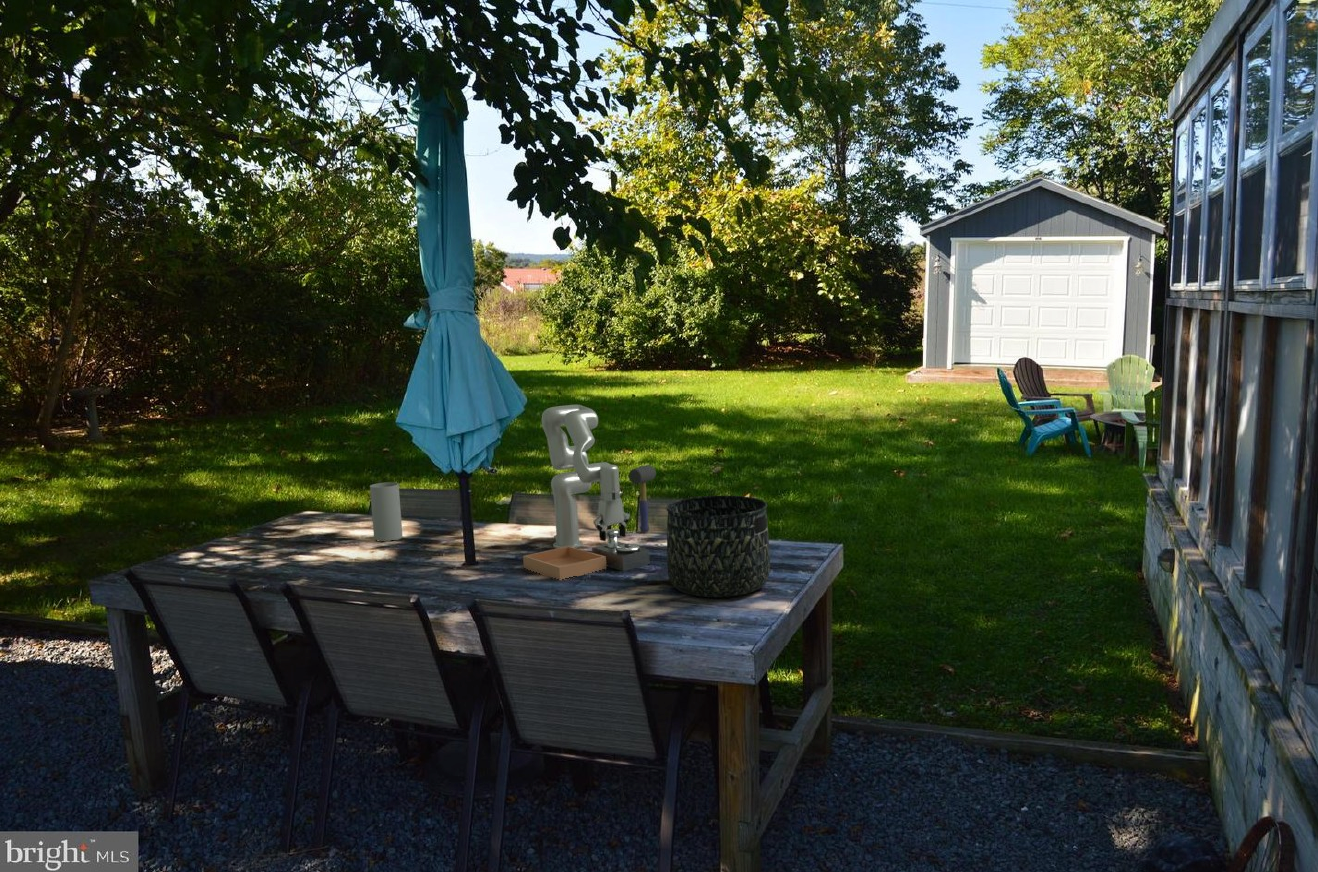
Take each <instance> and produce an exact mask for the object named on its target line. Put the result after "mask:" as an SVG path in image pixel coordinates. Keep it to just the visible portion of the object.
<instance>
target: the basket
mask: <svg viewBox="0 0 1318 872" xmlns="http://www.w3.org/2000/svg"><path fill="white" fill-rule="evenodd" d="M767 507H768V504H767V502H766V501H765V500H762V499H760V498H756V497H750V496H744V495H743V496H741V495H722V494H721V495H704V496H695V497H694V496H693V497H687V498H684V499H683V498H682V499H678V500H675V501H672V502H670V503H668V504H667V505H666V508H665V509H666V511H667V523H666V524H667V525H666V526H667V527H666V531H667V532H666V561H667V562H666V568H667V569H666V570H667V576H668V578H669V581H670V583H671V584H672V586H674V588H675V589H676V590H678V591H679V592H681V593H684V594H686V595H691V596H697V597H702V598H703V597H704V598H730V597H739V596H742V595H747V594H750V593H753V592H757V590H760V589H762V588H763V586H764V585H765V584H766V583H767V581H768V579H769V578H770V573H771V554H770V553H771V552H770V539H769V528H768V527H769V526H768V516H767Z"/></svg>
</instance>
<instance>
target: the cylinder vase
mask: <svg viewBox="0 0 1318 872" xmlns="http://www.w3.org/2000/svg"><path fill="white" fill-rule="evenodd" d="M369 488H370V489H369V491H370V492H369V493H370V504H371V516H372V530H373V540H374V541H375V540H379V541H390V540H396V541H399V540H401V539H402V538H403V527H402V512H401V510H402V509H401V501H400V499H401V498H400V487H399V483H398V482H394V481H393V482H387V481H386V482H379V483H374V484H371V485H369ZM390 542H391V541H390Z"/></svg>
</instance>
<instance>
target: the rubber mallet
mask: <svg viewBox="0 0 1318 872" xmlns="http://www.w3.org/2000/svg"><path fill="white" fill-rule="evenodd" d="M656 476H657V471H656V468H655V467H654V466H653V465H651V464H647V465H641V466H638V467H635V468H632V469H631V470H630V471H629V473H628V479H629V481H630V482H631V483H632V484H634V485H639V484H640V485H639V486H640V487H639V489H640V490H639V491H640V501H639V514H640V527H639V528H640V531H641V533H645V534H647V533H649V531H650V526H649V504H648V501H647V485H646V483H649V481H652V480H654V479H655V478H656Z"/></svg>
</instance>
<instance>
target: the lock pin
mask: <svg viewBox="0 0 1318 872" xmlns="http://www.w3.org/2000/svg"><path fill="white" fill-rule="evenodd" d="M604 531H605V532H606V541H607V544H608V548H609V549H614V548H616V547H617V546H618V542H619V540H618V536H620V535H619V529H616V528H610V529H605V530H604Z"/></svg>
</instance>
